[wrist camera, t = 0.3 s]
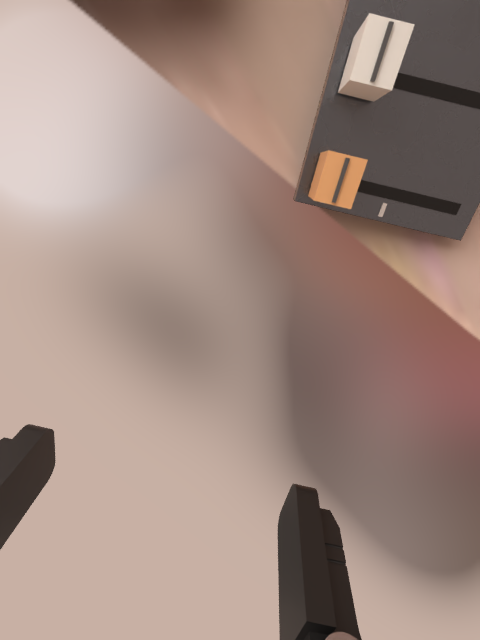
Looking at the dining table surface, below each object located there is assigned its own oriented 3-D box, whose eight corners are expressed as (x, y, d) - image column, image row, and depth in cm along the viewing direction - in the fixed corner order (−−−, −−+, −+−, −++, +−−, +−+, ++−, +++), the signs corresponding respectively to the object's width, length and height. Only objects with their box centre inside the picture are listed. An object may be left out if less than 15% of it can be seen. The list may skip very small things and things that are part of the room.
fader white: (353, 37, 25) (370, 11, 21) (391, 46, 25) (415, 23, 21) (337, 92, 27) (350, 79, 23) (373, 101, 27) (392, 89, 23)
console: (360, -48, 25) (367, -66, 23) (562, 3, 25) (587, -10, 24) (293, 199, 33) (294, 201, 31) (450, 236, 33) (461, 240, 31)
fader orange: (320, 152, 29) (329, 150, 25) (354, 160, 29) (368, 159, 25) (308, 196, 30) (314, 200, 26) (340, 203, 30) (351, 209, 26)
